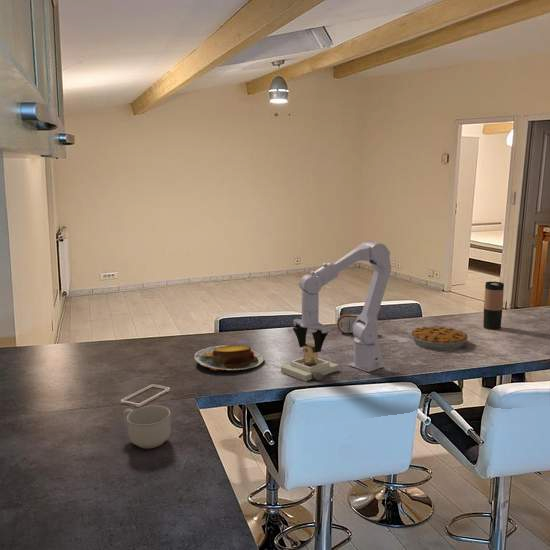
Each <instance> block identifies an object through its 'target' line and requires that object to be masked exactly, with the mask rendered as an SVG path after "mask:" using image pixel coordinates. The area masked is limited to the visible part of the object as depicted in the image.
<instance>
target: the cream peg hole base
mask: <svg viewBox="0 0 550 550" xmlns="http://www.w3.org/2000/svg"><path fill="white" fill-rule="evenodd" d="M339 367H340V366H339V364H338V363H334V362H331V361H328V360H326V359H325V360H324V359H323V358H320V357H318V365H315V366H312V367H308V366H305V365H303V357H299V358H297V359H294V360H290V362H289V364H288V363H287V364H286V365H283V366H281V367H280V373H281V372H282V374H284V373H285V374H284V375H287V376H289V375H290V376H289V377H292V376H293V378H295V379H298V380H300V379H301V381H302V382H308V380H309V381H312V380H315V381H318V382H321V381H323V379H324V376H325V375H329V374H332V373H335V372H338V371H339ZM337 370H338V371H337ZM334 371H335V372H334ZM331 372H332V373H331ZM328 373H329V374H328ZM311 379H312V380H311Z"/></svg>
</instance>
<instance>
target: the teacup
mask: <svg viewBox="0 0 550 550" xmlns="http://www.w3.org/2000/svg"><path fill="white" fill-rule="evenodd" d="M171 415H172V414H171V410H170V409H169V408H168V407H166V406H163V405H157V404H152V405H151V404H150V405H142V406H140V407H137V408H135V409H132V408H126V409H125V410H124V411H123V413H122V417H123V418H122V419H123V421H124V422H125V424H126V425H127V431H128V437H129V440H130V441H131V443H133V444H134V445H135V446H138V447H139V448H142V449H147V450H148V449H154V448H155V449H156V448H158V447H160V446H162V445H163V444H164V443H165V442H166V441H167V440H168V439H169V437H170V435H171V431H172V430H171V429H172V428H171V427H172V425H171V422H172V421H171V420H172V419H171Z"/></svg>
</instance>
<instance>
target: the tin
mask: <svg viewBox="0 0 550 550" xmlns="http://www.w3.org/2000/svg"><path fill="white" fill-rule="evenodd" d="M360 314H361V313H343V314H341V315H340V316H339V317H338V318H337V322H336V325H337V329H338V330H339V331H340V332H341V333H343V334H346V333H352V326H353V324H354V323H355V322H356V320H357V317H358V316H359V315H360Z"/></svg>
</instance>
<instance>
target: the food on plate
mask: <svg viewBox="0 0 550 550" xmlns="http://www.w3.org/2000/svg"><path fill="white" fill-rule="evenodd" d="M194 360H195V361H196V362H197V363H198V364H200V365H201V366H202V367H205V368H207V369H208V368H209V370H212V371H218V370H219V371H221V370H222V371H224V370H225V371H240V370H241V371H242V370H243V371H244V370H247V369H252V368H255V367H258V366H260V365H261V364H262V363H263V362H264V361H265V357H264V356H263V355H262V354H260V352H257V351H255V350H253V349H252V348H251V346H250V345H240V346H239V345H225V344H224V345H223V344H222V345H217V346H216V345H214V346H209V347H206V348H202V349H200V350H198V351H196V353H194ZM241 367H243V368H241ZM237 368H238V369H237Z"/></svg>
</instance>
